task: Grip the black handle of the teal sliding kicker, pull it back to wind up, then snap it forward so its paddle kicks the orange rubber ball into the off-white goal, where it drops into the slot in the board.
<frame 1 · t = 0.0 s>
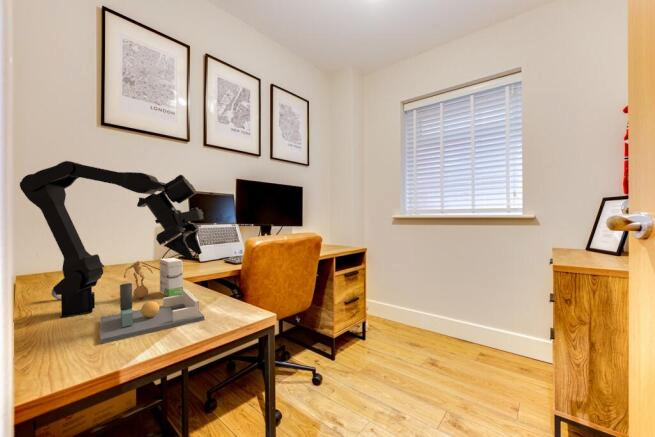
hand: (196, 256, 83), 15 cm above the table, tool tilted 35°, fingers open, 9 cm apart
board: (152, 320, 72), on the table
ink box: (171, 293, 96), on the table
wristwatch: (64, 300, 90), on the table
kicker: (126, 302, 69), point 6 cm above the table, slide at 0.0 cm
ball: (150, 309, 72), point 3 cm above the table, touching board
goal: (178, 315, 76), resting on board
figurine: (139, 298, 92), on the table
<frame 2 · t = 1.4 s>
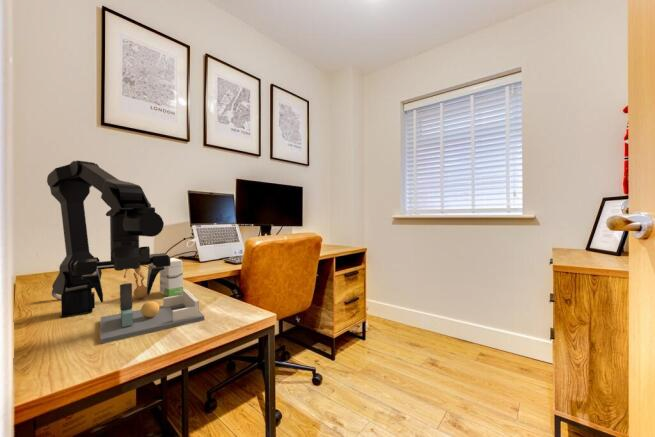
hand: (126, 298, 69), 7 cm above the table, tool pointing down, fingers open, 9 cm apart
nothing on the table moved.
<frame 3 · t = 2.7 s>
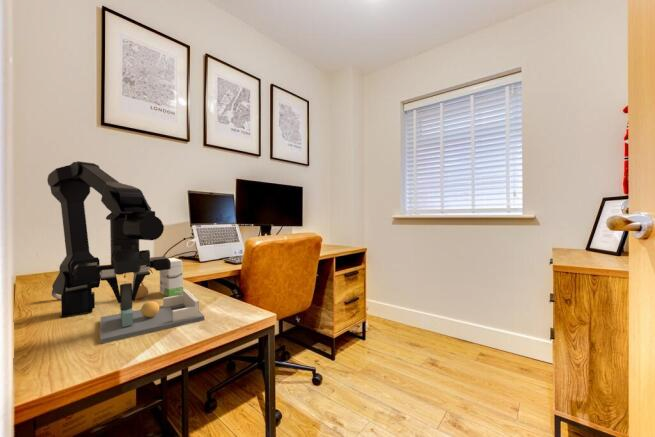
hand: (126, 301, 69), 6 cm above the table, tool pointing down, fingers closed on kicker, 2 cm apart
kicker: (126, 302, 69), point 6 cm above the table, slide at 0.0 cm, touching gripper
everything else where it was.
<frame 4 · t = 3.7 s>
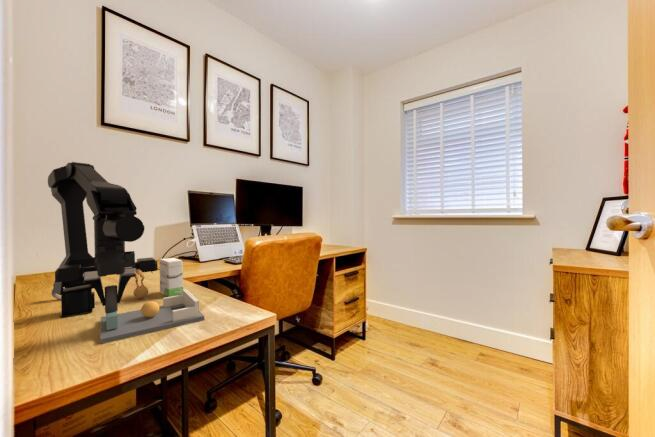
hand: (111, 304, 67), 6 cm above the table, tool pointing down, fingers closed on kicker, 2 cm apart
kicker: (111, 305, 67), point 6 cm above the table, slide at -2.9 cm, touching gripper
everything else where it was.
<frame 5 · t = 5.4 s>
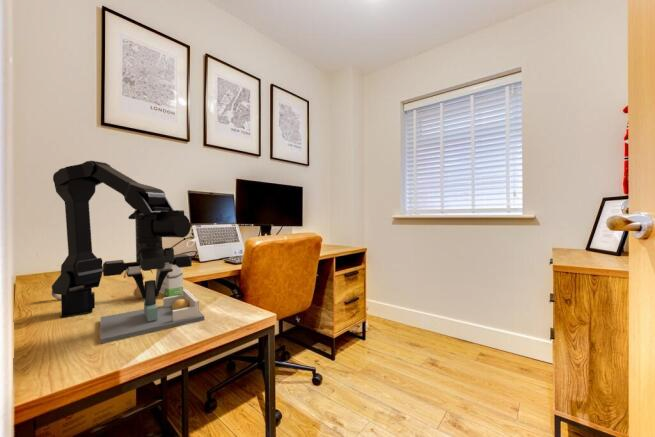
hand: (150, 297, 72), 6 cm above the table, tool pointing down, fingers closed on kicker, 2 cm apart
kicker: (150, 298, 72), point 6 cm above the table, slide at 5.0 cm, touching gripper
ball: (180, 306, 77), point 2 cm above the table, tilted 173°, touching board
everything else where it was.
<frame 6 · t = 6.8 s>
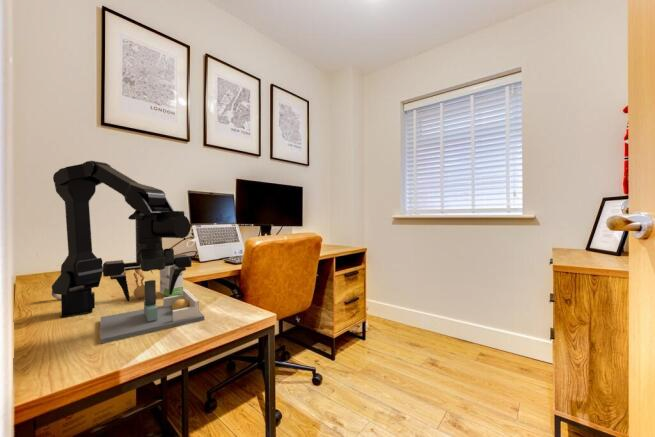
hand: (150, 297, 72), 6 cm above the table, tool pointing down, fingers open, 9 cm apart
kicker: (150, 298, 72), point 6 cm above the table, slide at 5.0 cm
everything else where it was.
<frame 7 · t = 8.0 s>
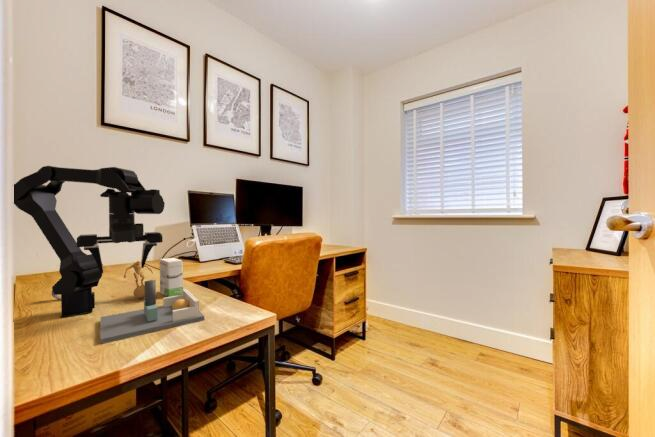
hand: (122, 269, 78), 12 cm above the table, tool pointing down, fingers open, 9 cm apart
nothing on the table moved.
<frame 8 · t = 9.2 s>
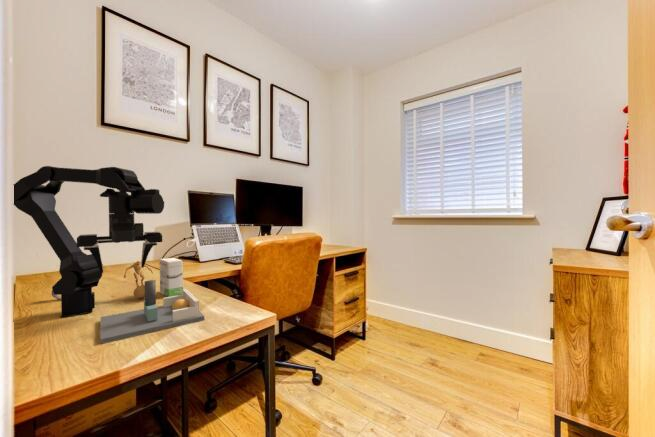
hand: (122, 269, 78), 12 cm above the table, tool pointing down, fingers open, 9 cm apart
nothing on the table moved.
at the end: ball 0.0 cm from the target spot, point 2.2 cm above the table; ball moved 7.1 cm from its start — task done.
